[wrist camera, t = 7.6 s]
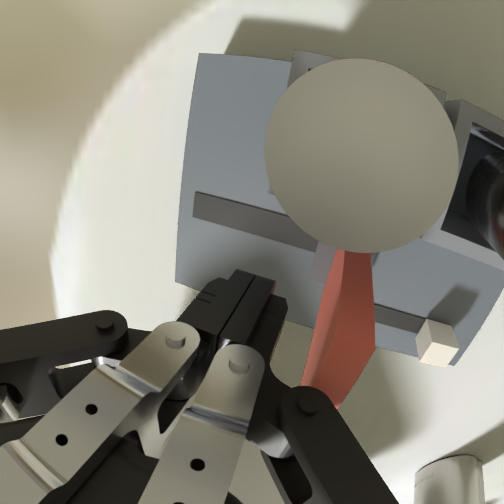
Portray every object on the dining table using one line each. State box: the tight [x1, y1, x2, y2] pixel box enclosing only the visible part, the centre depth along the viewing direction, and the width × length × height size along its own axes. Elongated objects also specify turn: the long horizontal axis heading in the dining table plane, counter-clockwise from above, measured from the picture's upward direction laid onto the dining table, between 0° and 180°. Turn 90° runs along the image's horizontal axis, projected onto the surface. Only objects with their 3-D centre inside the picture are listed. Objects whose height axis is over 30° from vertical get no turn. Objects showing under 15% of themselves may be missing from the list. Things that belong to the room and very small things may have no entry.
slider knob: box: [415, 319, 459, 368], centre depth 15 cm, size 2×2×2 cm
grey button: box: [264, 58, 459, 253], centre depth 7 cm, size 4×4×5 cm
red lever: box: [300, 241, 376, 409], centre depth 12 cm, size 3×4×10 cm
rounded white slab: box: [158, 383, 285, 504], centre depth 25 cm, size 29×8×18 cm, turn 30°
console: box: [175, 50, 504, 366], centre depth 15 cm, size 21×15×8 cm
